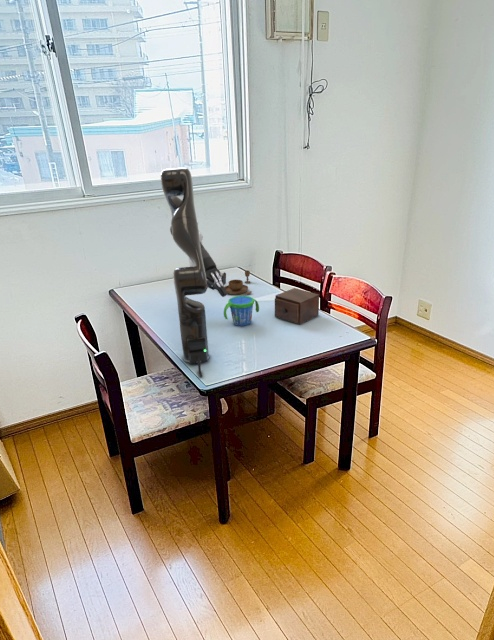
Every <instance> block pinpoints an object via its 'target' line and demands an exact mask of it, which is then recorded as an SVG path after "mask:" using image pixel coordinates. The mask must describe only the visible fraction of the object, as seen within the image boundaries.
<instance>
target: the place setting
mask: <svg viewBox="0 0 494 640" xmlns="http://www.w3.org/2000/svg"><path fill="white" fill-rule="evenodd" d="M244 276H245V277H246V281H243V280H241V279H231V280H229V281H228V284H227V285H224V288H225V290H226V291H227V295H232V296H233V295H235V296H246V295H250V294H252V291H251V290H249V286H248V285H247V284H250V283H251V281H249V280H250V279H249V277H250V270H244ZM244 283H245V284H244ZM248 290H249V291H248Z"/></svg>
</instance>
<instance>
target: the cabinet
mask: <svg viewBox="0 0 494 640" xmlns="http://www.w3.org/2000/svg"><path fill="white" fill-rule="evenodd" d="M274 296H275V298H279V299H283V300H287V301H290V302H294V303H297V304H299V323H295V322H292V321H289V320H286V319H283V318H280V317H277V319H282V320H284V321H287V322H290V323H294V324H297V325H303V324H305V323H307V322H309V321H311V320H313V319H315V318H317V317H319V309H320V307H319V306H320V294H319V293H315V292H312V291H308V290H304V289H299V288H296V287H294V288H291V289H288V290H285V291H283V292H280V293H278V294H276V295H274ZM275 298H274V299H275Z"/></svg>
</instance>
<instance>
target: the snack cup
mask: <svg viewBox="0 0 494 640" xmlns="http://www.w3.org/2000/svg"><path fill="white" fill-rule="evenodd" d="M254 302H255V303H254ZM254 304H255V313H259V312H260V304H259V302H258V300H256V298H253V297H252V296H249V295H242V296H240V295H235V296H232V297H230V298H229V299H228V301H227V303H226V304H225V306H224V309H223V317H224V319H225V320H228V313H227V312H228V311H227V310H228V309H230V314H231V318H232V322H233V324H234V325H236V326H238V327H239V326H240V327H243V326H248V325H250V324H251V322H252V318H253V310H254V309H253V307H254Z"/></svg>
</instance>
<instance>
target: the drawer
mask: <svg viewBox="0 0 494 640" xmlns="http://www.w3.org/2000/svg"><path fill="white" fill-rule="evenodd" d="M274 317H275V318H278V317H280V318H279V319H281V318H283V319H282V320H284V319H286V320H285V321H287V320H289V321H288V322H290V321H292V322H291V323H293V322H295V323H294V324H296V323H299V304H297V303H294V302H290V301H287V300H283V299H279V298H274Z"/></svg>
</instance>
